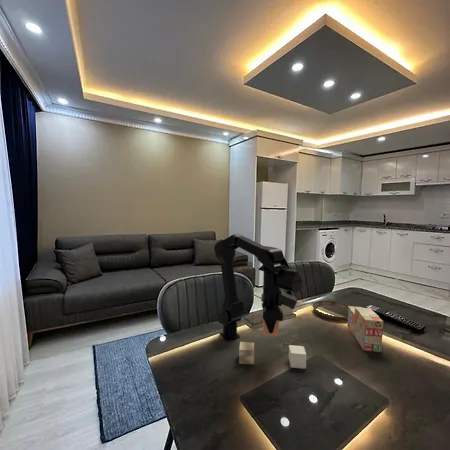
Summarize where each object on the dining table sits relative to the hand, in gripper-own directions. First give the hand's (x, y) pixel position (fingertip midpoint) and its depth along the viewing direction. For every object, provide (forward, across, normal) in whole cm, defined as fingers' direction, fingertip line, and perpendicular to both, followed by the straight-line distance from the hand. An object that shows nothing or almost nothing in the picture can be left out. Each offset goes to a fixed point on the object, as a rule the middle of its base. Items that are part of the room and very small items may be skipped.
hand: (270, 329), depth 87 cm
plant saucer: (+12, +45, -35) cm, 58 cm away
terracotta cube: (+1, 0, 0) cm, 1 cm away
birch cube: (+11, -1, +8) cm, 14 cm away
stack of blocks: (+11, +21, -40) cm, 46 cm away
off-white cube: (+11, -1, -9) cm, 14 cm away
